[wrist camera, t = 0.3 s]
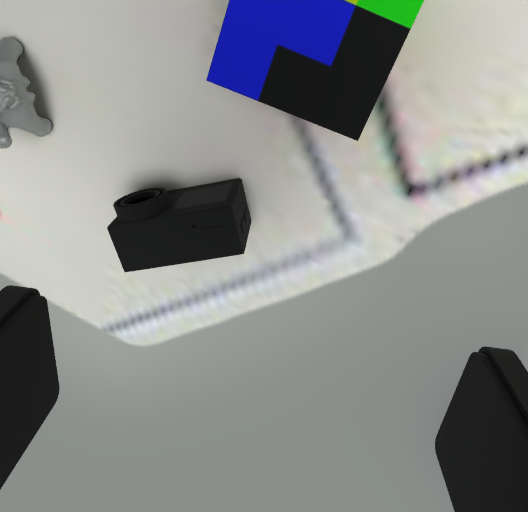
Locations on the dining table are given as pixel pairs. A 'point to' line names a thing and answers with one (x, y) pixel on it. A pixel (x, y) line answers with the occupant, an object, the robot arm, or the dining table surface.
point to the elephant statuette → (16, 96)
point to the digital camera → (180, 225)
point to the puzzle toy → (313, 55)
